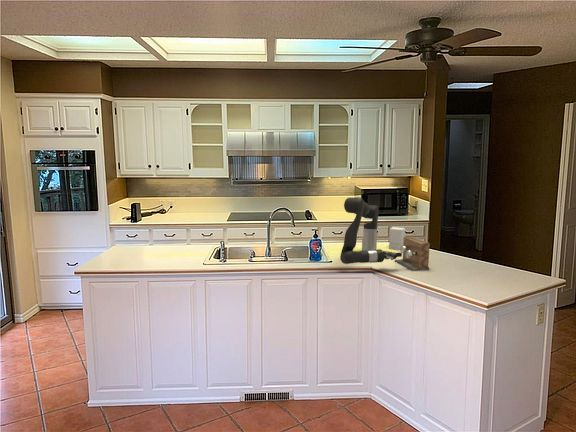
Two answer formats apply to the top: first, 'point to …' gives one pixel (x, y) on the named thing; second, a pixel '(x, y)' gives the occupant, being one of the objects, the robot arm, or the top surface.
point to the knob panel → (417, 260)
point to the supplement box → (396, 238)
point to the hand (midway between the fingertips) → (401, 254)
